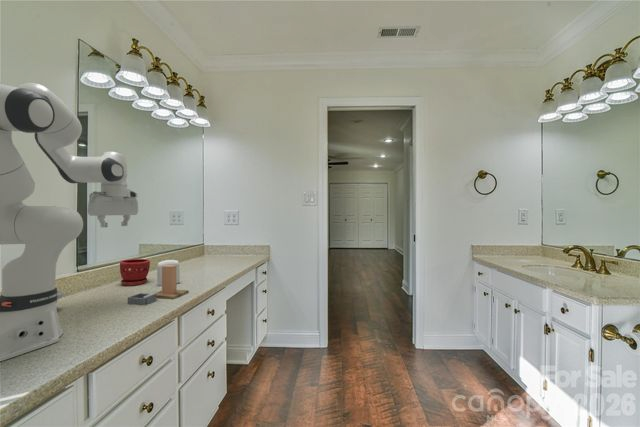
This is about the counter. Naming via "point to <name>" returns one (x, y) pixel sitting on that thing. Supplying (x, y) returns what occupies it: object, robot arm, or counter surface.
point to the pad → (171, 296)
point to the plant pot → (134, 271)
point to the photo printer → (159, 270)
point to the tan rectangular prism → (169, 279)
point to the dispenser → (142, 299)
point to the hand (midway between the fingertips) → (114, 226)
